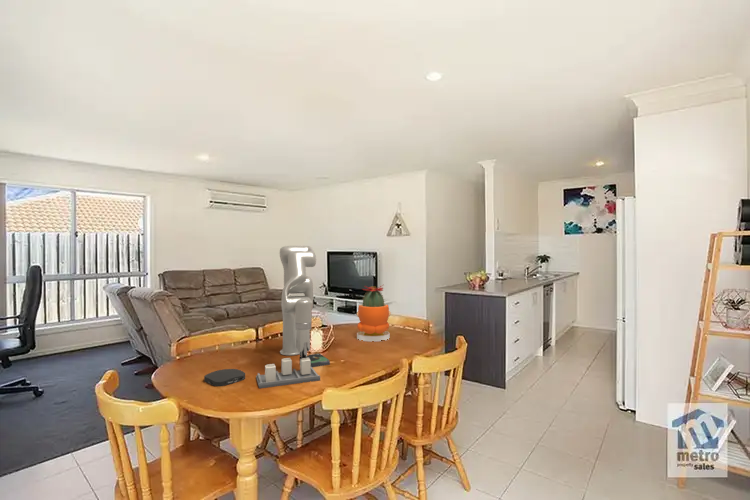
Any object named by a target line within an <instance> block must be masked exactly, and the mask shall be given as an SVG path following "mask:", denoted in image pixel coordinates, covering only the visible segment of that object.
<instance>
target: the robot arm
mask: <svg viewBox="0 0 750 500" xmlns="http://www.w3.org/2000/svg"><path fill="white" fill-rule="evenodd" d="M279 258H280V262H281V264H282V268H283V288H282V290H281V291H282V292H281V302H280V303H281V304H280V306H281V313H282V349H280V351H279V354H280V355H283V356H297V355H299V360H300V359H302V358H307V356H308V352H310V350H311V337H310V333H311V332H310V331H312V322H313V321H312V311H313V309H314V284H313V279H312V278H311V277H310V276H307V272H306V271H307V270H306V268H314V267H315V266H316V264H317V256H316V253H315V250H313V247H311V246H309V245H285V246H281V248H280V249H279ZM289 294H293V295H289ZM294 294H304V295H294Z"/></svg>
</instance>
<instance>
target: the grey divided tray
mask: <svg viewBox="0 0 750 500" xmlns="http://www.w3.org/2000/svg"><path fill="white" fill-rule="evenodd" d="M255 377H256V383H257V386H258V388H259V389H264V388H265V389H266V388H272V387H281V386H287V385H296V384H303V382H304V383H311V382H317V381H321V375H319V374H318V373H317V372H316V370H315V369H314V367H311V374H305V375H302V374H301V373H300V369H299V370H298V369H296V368H292V374H288V375H282V373H281V372H279V371H278V370H276V381H272V382H266V381H265V374H260V372H257V375H255ZM310 381H311V382H310Z"/></svg>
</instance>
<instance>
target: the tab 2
mask: <svg viewBox="0 0 750 500" xmlns="http://www.w3.org/2000/svg"><path fill="white" fill-rule="evenodd" d="M292 367H293V360H292V359H291V357H285V358H281V367H280V368H281V370H280V371H281V372H280V373H282V375H288V374H292V371H293V368H292Z"/></svg>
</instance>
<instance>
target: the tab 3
mask: <svg viewBox="0 0 750 500" xmlns="http://www.w3.org/2000/svg"><path fill="white" fill-rule="evenodd" d="M299 370H300V373H301V374H302V375H305V374H311V360H310V359H309V357H308V358H302V359H300V358H299Z"/></svg>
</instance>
